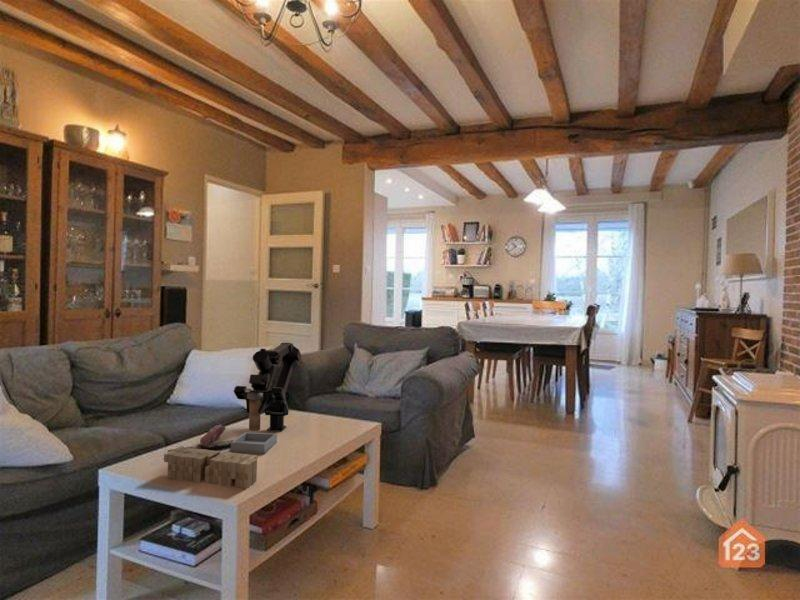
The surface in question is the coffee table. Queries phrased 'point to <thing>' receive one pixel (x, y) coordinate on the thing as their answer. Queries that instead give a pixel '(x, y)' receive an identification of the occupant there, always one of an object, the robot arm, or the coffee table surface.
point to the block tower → (211, 467)
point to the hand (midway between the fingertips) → (253, 413)
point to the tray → (254, 443)
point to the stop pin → (254, 410)
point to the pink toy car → (213, 434)
